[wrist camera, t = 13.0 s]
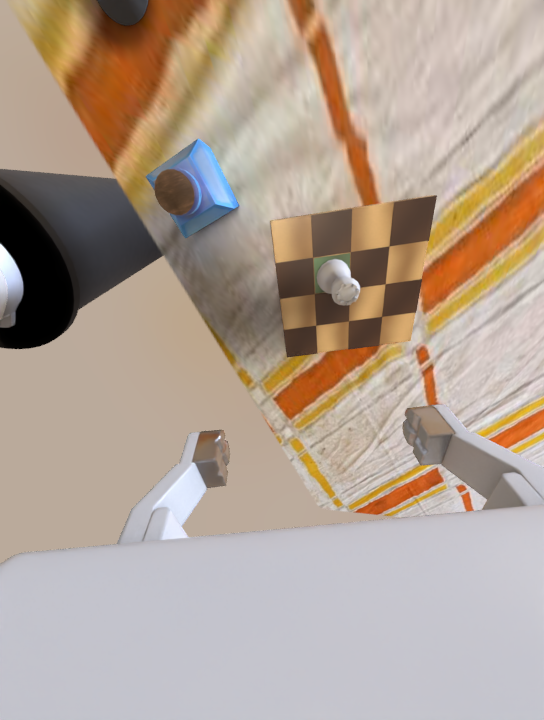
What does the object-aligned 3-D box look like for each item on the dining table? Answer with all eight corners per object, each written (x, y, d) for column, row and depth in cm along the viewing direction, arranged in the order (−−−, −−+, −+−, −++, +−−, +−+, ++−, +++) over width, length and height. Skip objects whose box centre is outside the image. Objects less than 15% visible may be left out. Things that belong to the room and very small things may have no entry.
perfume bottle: (197, 231, 33) (168, 248, 23) (165, 178, 30) (117, 172, 20) (239, 205, 32) (227, 212, 22) (210, 148, 29) (181, 124, 19)
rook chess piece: (355, 274, 36) (376, 293, 29) (329, 297, 37) (344, 320, 31) (334, 250, 34) (352, 265, 27) (309, 275, 36) (319, 295, 29)
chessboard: (286, 353, 44) (287, 357, 43) (270, 220, 33) (270, 221, 32) (407, 338, 43) (410, 341, 42) (431, 195, 32) (436, 195, 31)
